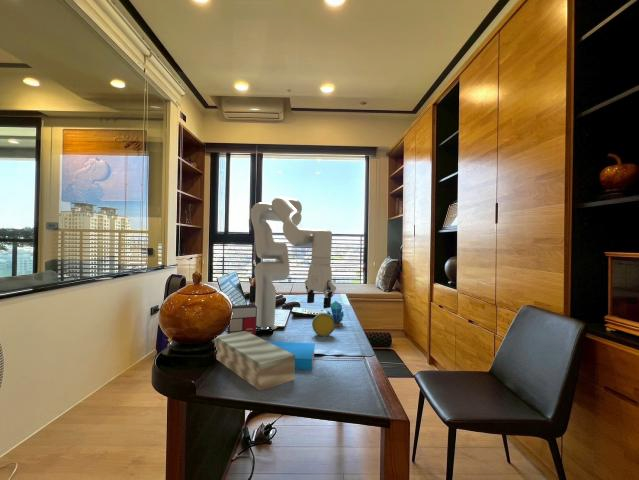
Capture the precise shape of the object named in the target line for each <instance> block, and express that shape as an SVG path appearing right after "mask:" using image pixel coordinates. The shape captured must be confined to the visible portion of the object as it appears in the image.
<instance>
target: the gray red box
mask: <svg viewBox="0 0 639 480" xmlns="http://www.w3.org/2000/svg"><path fill="white" fill-rule="evenodd" d="M231 306H232V309H233V315H232V319H231V323H230V325H229V327H228V326H227V329H226V332H227V333H226V334H231V333H237V332H242V331H247V332H249V333H251V334H253V335H255V336H257V330H256V320H257V306H255V304H241V305H231Z"/></svg>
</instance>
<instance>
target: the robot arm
mask: <svg viewBox="0 0 639 480" xmlns="http://www.w3.org/2000/svg"><path fill="white" fill-rule="evenodd" d="M302 210H303V206H302V203H301V202H300V201H299V200H298V199H297V198H292V197H285V196H278V197H275V198H274V199H272V201H271V202H268V201H267V202H266V201H265V202H263V201H262V202H261V201H260V202H257V203H255V204H254V205H252V208H251V211H250V220H251V223H252V226H253V227H252V228H253V230H254V231H253V232H254V241H255V251H256V252H255V254H256V256H257V257H258V258H259V259H261V260H262V259H263V260H267V261H261V262H258V263H257V264H256V265H255V266H254V270H253V271H254V280H255V299H254V300H255V304H254V305H255V306H257V320H256V326H258V327H271V329H272V330H276V329H277V328H278V327H277V325H274V324H275V323H276V322H275V320H276V319H275V317H276V299H277V298H276V296H277V295H276V294H277V293H276V291H277V290H276V287H275V286H274V284H273V282H276V281H278V282H279V281H285V280H287V279H288V277H289V276H290V273H291V272H290V271H291V270H290V260H289V248H288V246H287V245H288V244H287V243H286V242H285V241H284V240H280V239H274V238H273V230H272V228H271V225H270V224H269V223H268V222H267V221H270V222H271V221H273V222H282V223H283V224H282V233H283V235H284V237H285V239H286V240H287V241H288V242H289V244H290V245H292V246H293V247H296V248H311V259H310V261H311V263H310V264H309V266H308V270H307V271H308V272H307V273H308V274H307V279H306V280H304V285H305V290H306V293H307V299H306V303H307V304H313V303H314V302H315V292H317V293H323V295H324V298H323V309H331V304H332V298H333V297H334V295H335V292H336V290H337V287H336V286H335V285H334V284H333V275H332V274H333V271H332V266H331V262H332V261H331V260H332V243H333V233H332V231H331V230H329V229H328V230H325V229H317V228H316V229H314V228H302V227H300V228H299V224H301V221H302ZM274 259H275V261H274ZM269 260H270V261H269ZM271 260H273V261H271ZM272 330H271V331H272Z"/></svg>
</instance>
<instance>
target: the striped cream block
mask: <svg viewBox="0 0 639 480" xmlns="http://www.w3.org/2000/svg"><path fill="white" fill-rule="evenodd" d="M216 336H217V337H216V338H215V337H214V348H215V347H216V350H217V354H216V360H217V361H219V362H220V364H222V365H223V366H224V367H226V368H228V369H229V370H230V371H232V372H233V373H235V374H236V375H237V376H239V377H240V378H242V379H243V380H244V381H246V383H248V384H250V385H251V386H253V388H255V389H257V390H258V391H265V390H267V389H270V388H273V387H276V386H280V385H282V384H286V383H289V382H292V381H294V380H295V372H296V371H295V370H296V369H295V355H294V354H292V353H290V352H288V351H286V350H284V349H282V348H280V347H277V346H275V345H273V344H271V343H269V342H267V341H268V340H266V339H263V338H261V337H259V336H257V335H256V336H255V335H253V334H251V333H249V332H247V331H242V332H237V333H231V334H227V333H226V334H221V335H220V334H219V335H216Z"/></svg>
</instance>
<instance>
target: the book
mask: <svg viewBox="0 0 639 480" xmlns="http://www.w3.org/2000/svg"><path fill="white" fill-rule="evenodd" d="M266 341H267V342H269V343H271V344H273V345H275V346H277V347H280V348H282V349H284V350H286V351H288V352H290V353H292V354H294V355H295V370H306V371H313V364H314V357H315V343H312V342H292V341H290V342H289V341H275V340H273V341H271V340H266Z"/></svg>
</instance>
